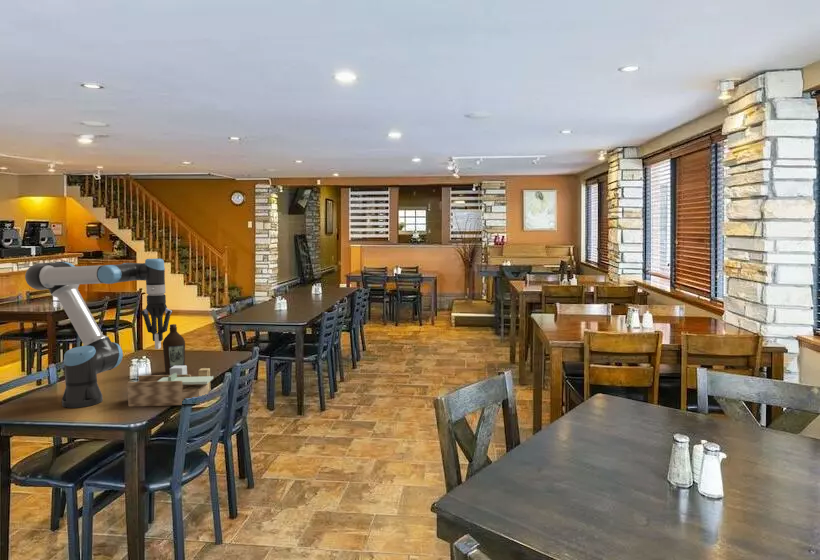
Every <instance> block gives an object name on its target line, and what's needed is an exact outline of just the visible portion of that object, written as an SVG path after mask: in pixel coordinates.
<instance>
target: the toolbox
mask: <svg viewBox="0 0 820 560" xmlns="http://www.w3.org/2000/svg"><path fill="white" fill-rule="evenodd" d="M169 376H171V375H167V374H159V375H158V374H157V375H156V374H154V375H150V374H149V375H138V377H137V378H138V381H128V382H127V383H126V384H127V401H128V402H127V403H128V407H148V406H149V407H157V406H159V407H161V406H183V405H182V401H183V400H184V399H185V398H192V397H198V396H202V395H205V394H208V395H209V392H208V384H184V385H182V381H158V380H160V379H161V378H163V377H169ZM177 377H192V375H191V374H188V373H187V374H186V375H177ZM201 404H202V403H200V404H196V405H201Z"/></svg>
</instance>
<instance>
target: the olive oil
mask: <svg viewBox="0 0 820 560" xmlns="http://www.w3.org/2000/svg"><path fill="white" fill-rule="evenodd" d="M177 328H178V327H177V324H175V323H173V324H169V333H167V335H166V336H165V338H163V340H162V351H163V360H164V371H165V373H164V374H165V375H170V368H171V367H173V366H184V365H186V340H185V338H184V337H183V335H181V334H180V333H179V332H178V329H177Z"/></svg>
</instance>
